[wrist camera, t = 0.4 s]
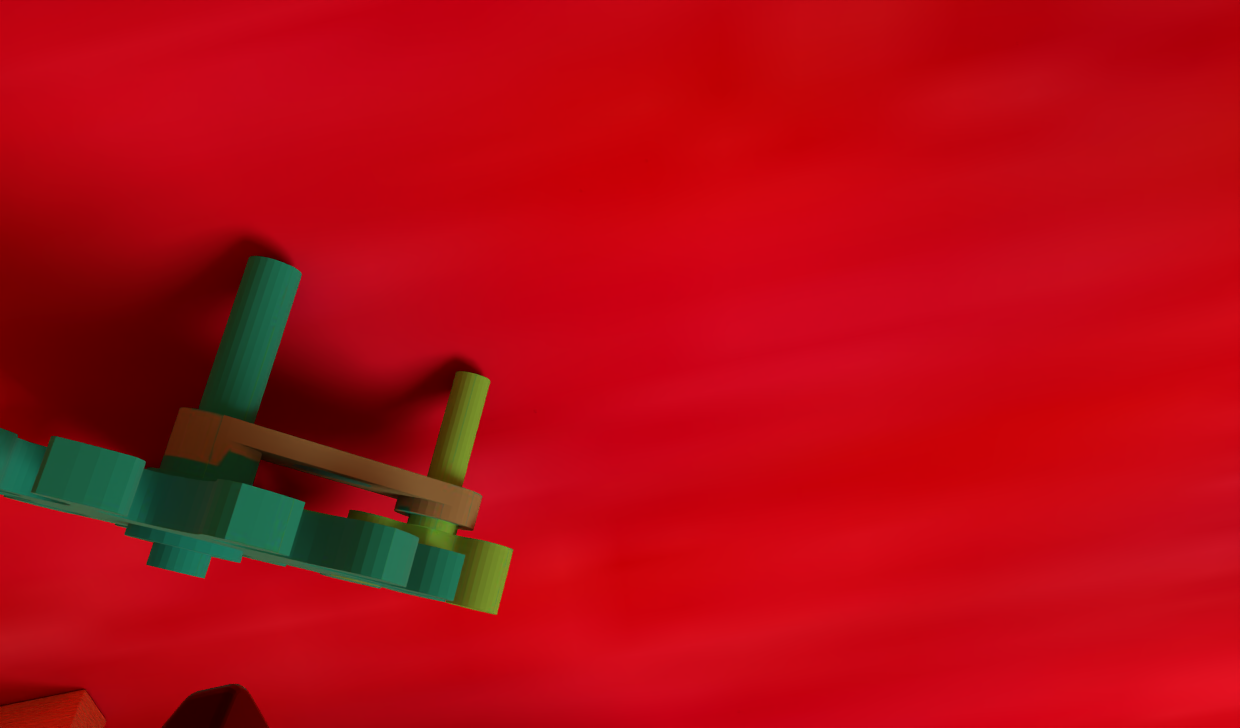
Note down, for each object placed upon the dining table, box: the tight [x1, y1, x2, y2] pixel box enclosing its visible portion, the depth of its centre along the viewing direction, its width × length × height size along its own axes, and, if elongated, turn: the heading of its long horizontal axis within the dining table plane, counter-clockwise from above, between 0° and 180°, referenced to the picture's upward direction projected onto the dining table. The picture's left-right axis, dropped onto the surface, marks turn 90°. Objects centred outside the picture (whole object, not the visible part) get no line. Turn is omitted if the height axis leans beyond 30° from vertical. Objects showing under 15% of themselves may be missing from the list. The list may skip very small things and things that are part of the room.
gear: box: [0, 256, 513, 615], centre depth 21 cm, size 11×6×10 cm
